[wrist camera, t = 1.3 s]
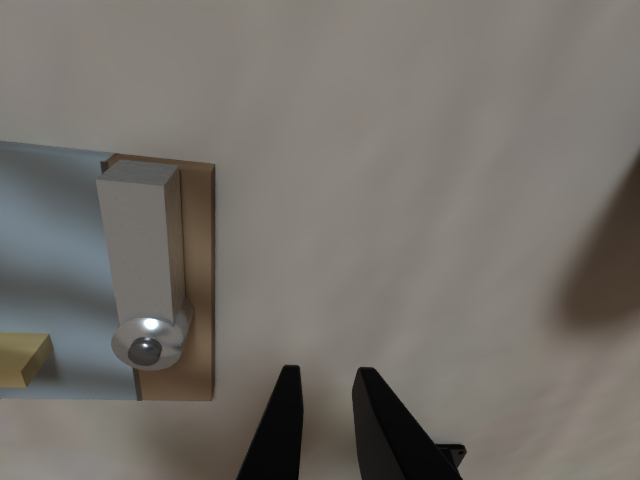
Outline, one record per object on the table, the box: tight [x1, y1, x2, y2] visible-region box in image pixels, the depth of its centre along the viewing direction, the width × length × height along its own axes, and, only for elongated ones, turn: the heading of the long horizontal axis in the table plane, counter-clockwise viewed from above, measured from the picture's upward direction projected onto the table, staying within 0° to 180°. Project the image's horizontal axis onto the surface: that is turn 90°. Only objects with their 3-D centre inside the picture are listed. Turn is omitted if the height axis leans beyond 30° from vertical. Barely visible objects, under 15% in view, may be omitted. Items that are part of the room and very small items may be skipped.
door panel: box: [0, 141, 215, 401], centre depth 19 cm, size 16×14×4 cm
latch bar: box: [96, 159, 193, 371], centre depth 17 cm, size 10×3×3 cm, turn 172°
